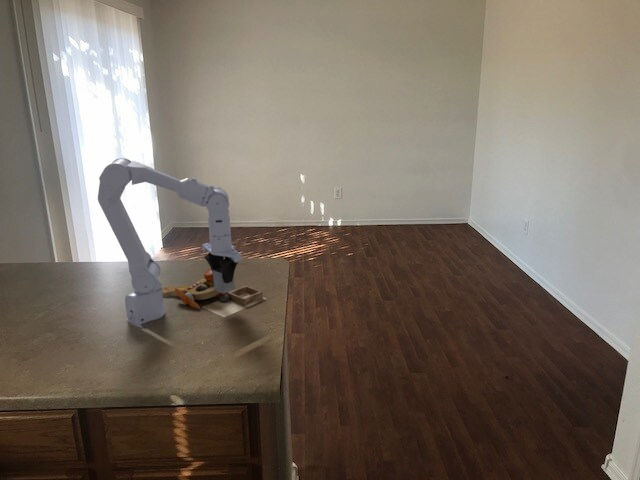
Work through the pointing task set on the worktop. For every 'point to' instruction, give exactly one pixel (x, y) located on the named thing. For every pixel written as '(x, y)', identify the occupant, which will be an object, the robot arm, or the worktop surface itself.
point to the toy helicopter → (194, 290)
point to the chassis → (235, 301)
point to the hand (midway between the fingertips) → (223, 280)
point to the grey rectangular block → (221, 281)
